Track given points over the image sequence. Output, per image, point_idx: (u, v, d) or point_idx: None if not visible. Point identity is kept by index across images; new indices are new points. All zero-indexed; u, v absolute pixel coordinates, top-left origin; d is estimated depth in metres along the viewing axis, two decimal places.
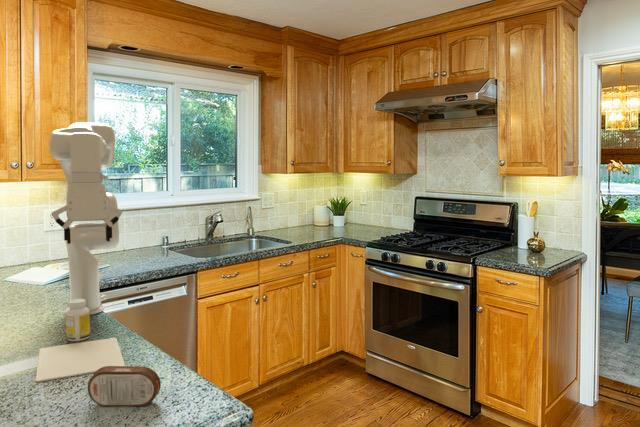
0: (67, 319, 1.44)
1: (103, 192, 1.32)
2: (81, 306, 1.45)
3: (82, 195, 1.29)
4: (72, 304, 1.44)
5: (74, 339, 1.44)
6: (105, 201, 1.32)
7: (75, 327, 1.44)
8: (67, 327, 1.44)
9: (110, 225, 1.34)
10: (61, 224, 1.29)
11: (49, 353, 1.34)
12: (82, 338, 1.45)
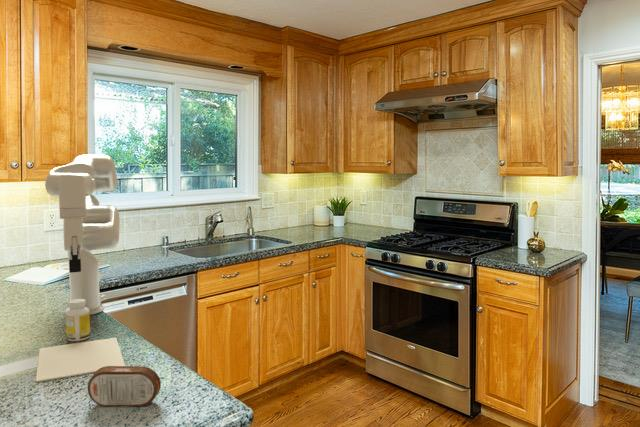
0: (67, 319, 1.44)
1: None
2: (81, 306, 1.45)
3: (82, 227, 1.52)
4: (72, 304, 1.44)
5: (74, 339, 1.44)
6: None
7: (75, 327, 1.44)
8: (67, 327, 1.44)
9: None
10: (77, 256, 1.51)
11: (49, 353, 1.34)
12: (82, 338, 1.45)
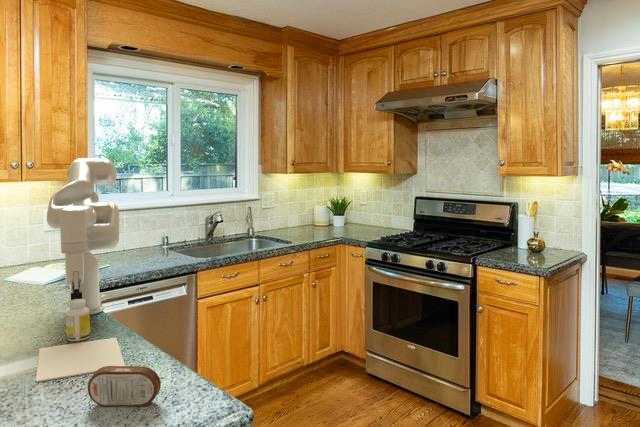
0: (67, 319, 1.44)
1: None
2: (81, 306, 1.45)
3: None
4: (72, 304, 1.44)
5: (74, 339, 1.44)
6: None
7: (75, 327, 1.44)
8: (67, 327, 1.44)
9: None
10: (79, 289, 1.52)
11: (49, 353, 1.34)
12: (82, 338, 1.45)
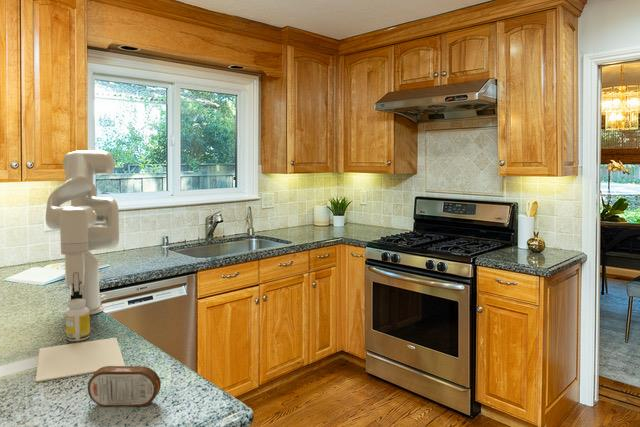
0: (67, 319, 1.44)
1: None
2: (81, 306, 1.44)
3: None
4: (72, 304, 1.43)
5: (74, 339, 1.44)
6: None
7: (75, 327, 1.43)
8: (67, 327, 1.44)
9: None
10: (79, 292, 1.48)
11: (49, 353, 1.34)
12: (82, 338, 1.45)
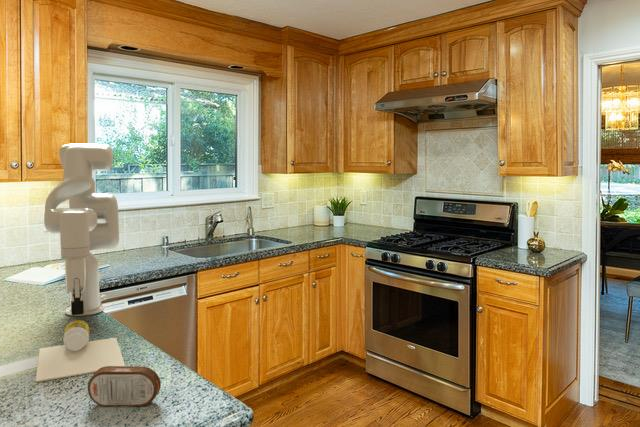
0: None
1: None
2: None
3: (85, 267, 1.43)
4: None
5: None
6: None
7: None
8: None
9: None
10: (80, 298, 1.42)
11: (49, 353, 1.34)
12: None
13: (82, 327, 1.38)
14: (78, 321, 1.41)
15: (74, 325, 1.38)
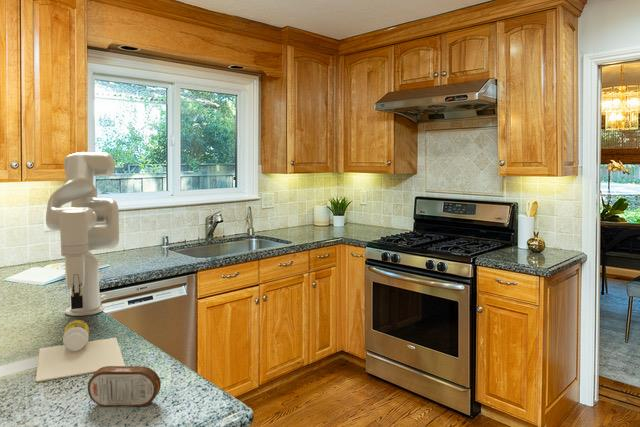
0: None
1: None
2: None
3: (84, 263, 1.50)
4: None
5: None
6: None
7: None
8: None
9: None
10: None
11: (49, 353, 1.34)
12: None
13: (81, 327, 1.38)
14: (78, 321, 1.41)
15: (73, 325, 1.38)
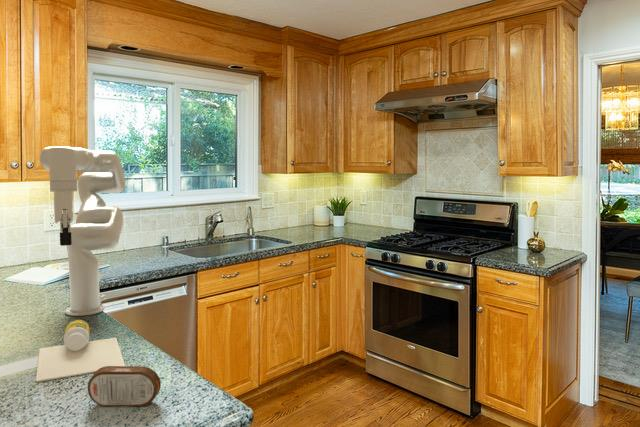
0: None
1: None
2: None
3: None
4: None
5: None
6: None
7: None
8: None
9: None
10: (68, 229, 1.52)
11: (49, 353, 1.34)
12: None
13: (83, 327, 1.38)
14: (79, 321, 1.41)
15: (75, 325, 1.38)
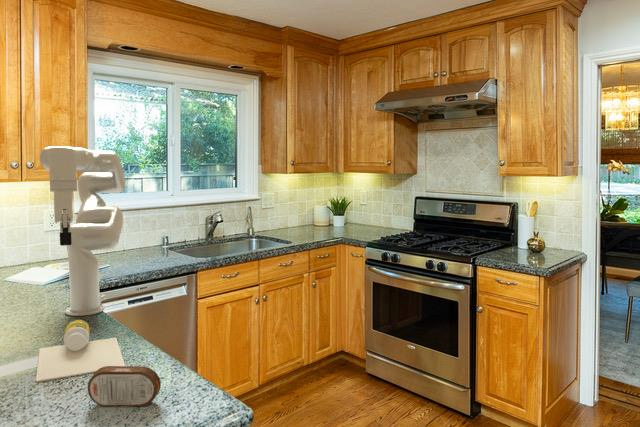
0: None
1: None
2: None
3: None
4: None
5: None
6: None
7: None
8: None
9: None
10: (68, 229, 1.52)
11: (49, 353, 1.34)
12: None
13: (83, 327, 1.38)
14: (79, 321, 1.41)
15: (75, 325, 1.38)
